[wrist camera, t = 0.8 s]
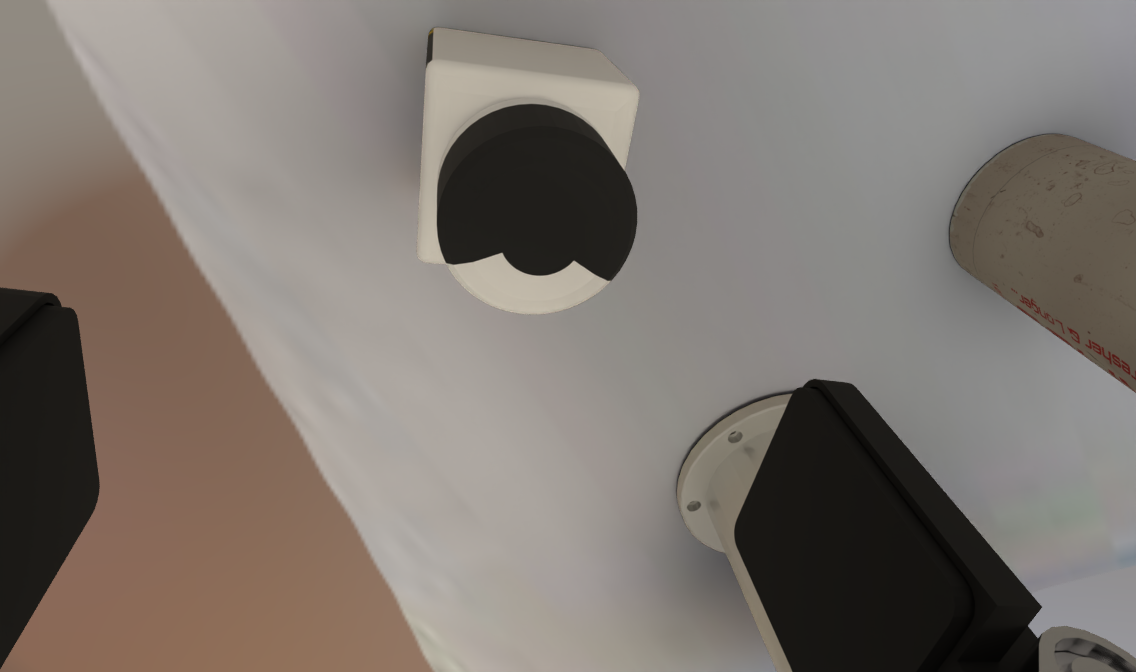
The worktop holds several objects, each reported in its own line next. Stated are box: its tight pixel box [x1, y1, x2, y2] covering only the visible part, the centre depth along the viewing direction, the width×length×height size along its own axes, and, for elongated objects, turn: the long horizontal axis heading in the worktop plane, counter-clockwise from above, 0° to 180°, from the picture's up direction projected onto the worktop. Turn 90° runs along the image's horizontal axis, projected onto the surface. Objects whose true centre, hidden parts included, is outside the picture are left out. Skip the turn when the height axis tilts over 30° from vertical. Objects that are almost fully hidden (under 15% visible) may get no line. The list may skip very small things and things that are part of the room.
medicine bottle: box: [416, 27, 639, 315], centre depth 26 cm, size 7×7×12 cm
